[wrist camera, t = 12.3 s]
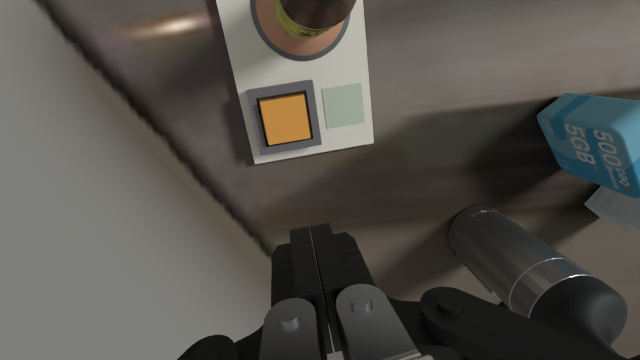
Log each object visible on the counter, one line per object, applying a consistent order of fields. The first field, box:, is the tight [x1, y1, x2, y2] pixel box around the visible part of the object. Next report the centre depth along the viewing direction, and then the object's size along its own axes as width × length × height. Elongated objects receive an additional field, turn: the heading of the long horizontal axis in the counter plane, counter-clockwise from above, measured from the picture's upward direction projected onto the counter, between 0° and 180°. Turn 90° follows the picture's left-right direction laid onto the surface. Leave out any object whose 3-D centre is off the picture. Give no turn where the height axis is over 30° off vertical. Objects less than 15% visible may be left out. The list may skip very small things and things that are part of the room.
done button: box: [260, 93, 311, 145], centre depth 36 cm, size 5×5×2 cm
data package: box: [537, 93, 640, 198], centre depth 40 cm, size 12×4×12 cm, turn 39°
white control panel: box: [216, 0, 374, 164], centre depth 35 cm, size 24×16×4 cm, turn 8°
